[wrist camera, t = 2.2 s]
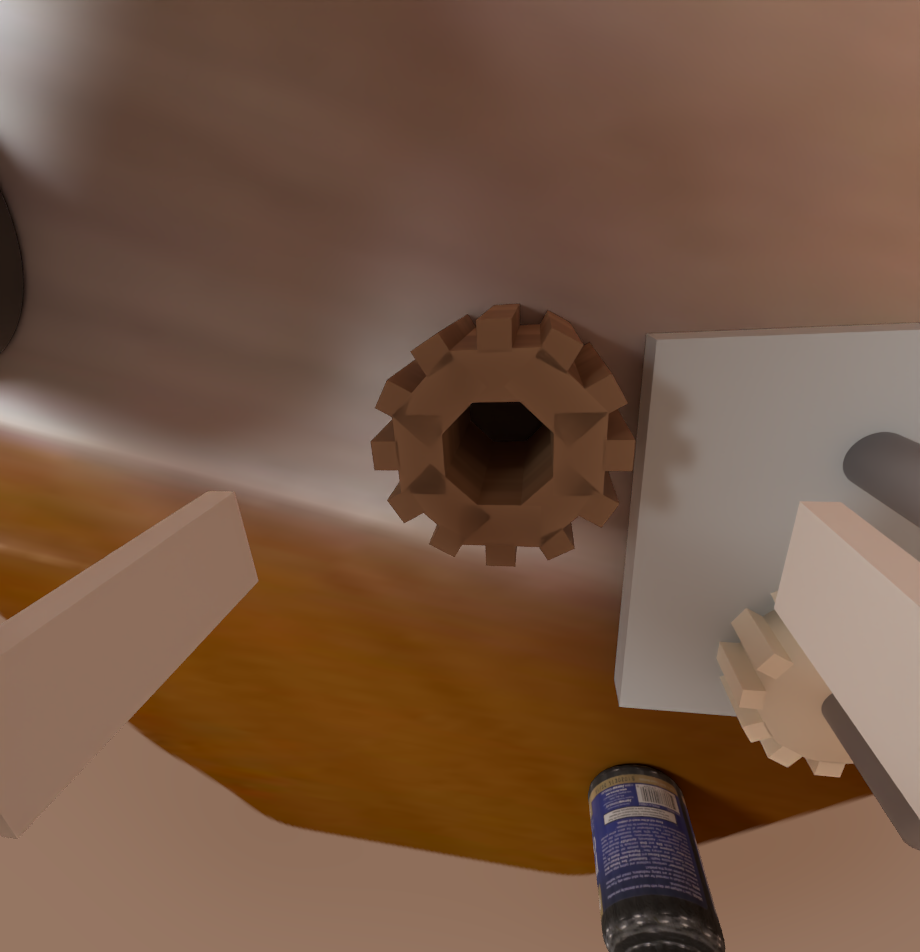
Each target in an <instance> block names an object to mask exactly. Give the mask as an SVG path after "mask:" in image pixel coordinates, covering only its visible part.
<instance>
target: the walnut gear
mask: <svg viewBox="0 0 920 952" xmlns="http://www.w3.org/2000/svg"><path fill="white" fill-rule="evenodd" d="M411 353H412V355H413V356H414V358H415V360H414V361H412V362H411V363H410V364H408V365H407V366H406V367H404V368H403V369H401V370H400V371H399V372H397V373H396V374H395V375H393V376H392V377H390V378H389V379H388V380H387V381H386V384H385V386H384V388H383V391H382V393H381V395H380V398H379V400H378V402H377V404H376V407H375V408H376V409H378V410H380V411H382V412H384V413H385V414H387V415H389V416H391V417H392V420H391V421H390V422H389V423H388V424H387V425H386V426H385V427H384V428H383V430H382V431H381V432H380V433H379V434H378V435H377V436H376V437H375V438H374V439H373V440H372V441H371V448H372V455H373V462H374V469H375V470H398V471H399V479H400V482H399V483H398V485H397V486H396V488H395V489H394V491H393V492H392V494H391V495H390V497H389V499H388V500H387V501H388V502H389V503H390V505H391V506H392V507H393V509H394V510H395V512H396V513H397V514H398V516H399V517H400V518H401V520H402V521H403V522H404V523H405V522H407V521H409V520H411V519H413V518H415V517H417V516H418V515H420V514H422V513H424V514H425V515H427V516H428V517H429V518H430V519H431V520H433V521H434V522H435V523H436V524H437V526H436V528H435V531H434V533H433V536H432V538H431V541H430V543H429V544H430V545H432V546H434V547H436V548H438V549H440V550H442V551H443V552H445V553H447V554H449V555H451V556H453V557H455V555H456V554H457V552H458V551H459V549H460V547H461V546H462V545H485V546H486V565H487V566H514V567H515V562H516V549H517V546H524V547H540V549H541V551H542V552H543V554H544V555H545V557H546V558H547V560H550V559H552V558H554V557H557V556H559V555H561V554H563V553H566V552H568V551H570V550H572V549H575V547H574V539H573V532H572V524H571V522H572V521H573V520H574V519H576V518H577V517H578V516H580V517H582V518H584V519H586V520H588V521H590V522H592V523H594V524H596V525H597V526H599V527H601V528H602V526H603V525H604V524H605V522H606V521H607V520H608V518H609V517H610V516H611V515H612V513H613V512H614V511H615V509H616V508H617V507H618V505H619V501H618V498H617V495H616V492H615V489H614V486H613V483H612V481H611V478H610V475H609V472H608V471H633V461H634V451H635V438H634V437H633V435H632V433H631V431H630V430H629V428H628V426H627V424H626V423H625V421H624V419H623V417H622V416H621V414H620V412H619V411H618V408H620V407H622V406H624V405H626V404H628V402H627V401H626V399H625V397H624V395H623V393H622V391H621V389H620V388H619V386H618V384H617V382H616V380H615V378H614V376H613V375H612V373H611V372H610V370H609V369H608V367H607V366H606V365H605V363H604V362H603V360H602V359H601V358H600V356H599V355H598V353H597V352H596V351H595V349H594V348H593V346H592V345H591V344H590V342H589V343H588V344H586V345H584V346H583V343H582V342H581V340H580V339H579V337H578V335H577V334H576V332H575V330H574V329H573V327H572V325H571V324H570V322H568V321H566V320H565V319H563V318H561V317H559V316H557V315H556V314H554V313H552V312H550V311H547V312H546V314H545V316H544V318H543V320H542V321H541V323H540V324H530V325H520V304H504V305H494V306H493V307H491V308H490V309H489V310H488V311H486V312H485V313H484V314H483V315H481V316H480V317H479V318H478V319H476V327H475V325H474V324H473V322H472V320H471V319H470V317H469V315H468V314H467V315H466V316H464V317H462V318H461V319H459V320H457V321H456V322H454V323H453V324H451V325H449V326H448V327H446V328H445V329H443V330H441V331H440V332H438V333H437V334H435V335H434V336H432V337H431V338H429V339H428V340H427V341H425V342H424V343H422V344H421V345H419V346H418V347H416V348H415V349H413V350H412V351H411ZM472 402H521V403H522V404H523V405H524V406H525V407H526V408H527V409H528V410H529V411H531V412H532V413H533V414H534V415H535V416H536V417H537V418H538V419H539V420H540V421H541V422H542V423H543V425H542V426H541V427H540V428H539V429H538V430H537V431H536V432H535V433H534V434H533V435H532V436H531V437H530V438H529V439H527V440H526V441H493V440H492V439H490V438H489V437H488V436H487V435H486V434H485V433H484V432H483V431H482V430H481V429H480V428H478V427H477V426H476V425H475V424H474V423H473V422H472V421H471V420H470V404H471V403H472Z"/></svg>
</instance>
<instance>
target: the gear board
mask: <svg viewBox="0 0 920 952" xmlns="http://www.w3.org/2000/svg"><path fill="white" fill-rule="evenodd" d="M800 501H812V502H841V503H843V504H844V505H845V506H847V507H848V508H849V509H851V510H852V511H853V512H855V513H856V514H857V515H859V516H860V517H861V518H862V519H864V520H865V521H866V522H868V523H869V524H870V525H872V526H873V527H874V528H876V529H877V530H878V531H880V532H881V533H882V534H883V535H885V536H886V537H887V538H889V539H890V540H891V541H893V542H894V543H895V544H897V545H898V546H899V547H901V548H902V549H903V550H904V551H906V552H907V553H908V554H910V555H911V556H912V557H914V558H915V559H916V560H918V561H919V562H920V323H896V324H871V325H847V326H822V327H798V328H773V329H749V330H724V331H700V332H675V333H650V334H646V343H645V353H644V364H643V375H642V385H641V396H640V407H639V418H638V428H637V439H636V450H635V460H634V471H633V482H632V493H631V503H630V514H629V525H628V535H627V546H626V557H625V568H624V578H623V589H622V600H621V610H620V621H619V632H618V643H617V653H616V664H615V675H614V681H615V686H616V692H617V697H618V702H619V707H628V708H640V709H653V710H665V711H677V712H689V713H702V714H714V715H726V716H737V717H738V720H739V722H740V724H741V726H742V728H743V730H744V732H745V733H746V735H747V737H748V739H749V740H750V742H751V743H752V742H755V741H759V740H760V742H761V744H762V746H763V748H764V750H765V752H766V755H767V757H768V758H770V759H772V760H774V761H776V762H778V763H780V764H782V765H783V766H785V767H789V766H790V765H792V764H793V763H794V762H796V761H797V760H799V759H800V758H801V757H805V759H806V761H807V763H808V764H809V766H810V768H811V770H812V772H813V773H814V775H820V776H831V777H840V776H841V774H842V771H843V769H844V766H845V764H855V766H856V768H857V769H858V771H859V772H860V774H861V775H862V777H863V778H864V780H865V782H866V783H867V785H868V786H869V788H870V789H871V791H872V793H873V794H874V796H875V797H876V799H877V800H878V802H879V803H880V805H881V807H882V808H883V810H884V811H885V813H886V814H887V816H888V817H889V819H890V820H891V822H892V824H893V825H894V826H895V828H896V830H897V832H898V833H899V835H900V836H901V838H902V839H903V841H904V842H905V843H906V844H908V845H909V846H911V847H912V848H915V849H917V850H920V819H919V818H918V816H917V815H916V813H915V812H914V810H913V809H912V807H911V806H910V805H909V803H908V802H907V800H906V799H905V797H904V796H903V794H902V793H901V792H900V790H899V789H898V787H897V786H896V784H895V783H894V781H893V780H892V779H891V777H890V776H889V774H888V773H887V771H886V770H885V768H884V767H883V765H882V764H881V763H880V761H879V760H878V758H877V757H876V755H875V754H874V752H873V751H872V750H871V748H870V747H869V745H868V744H867V742H866V741H865V739H864V738H863V737H862V735H861V734H860V732H859V731H858V729H857V728H856V726H855V725H854V724H853V722H852V721H851V719H850V718H849V716H848V715H847V713H846V712H845V711H844V709H843V708H842V706H841V705H840V703H839V702H838V700H837V699H836V698H835V696H834V695H833V693H832V692H831V690H830V689H829V687H828V686H827V685H826V683H825V682H824V680H823V679H822V677H821V676H820V674H819V673H818V672H817V670H816V669H815V667H814V666H813V664H812V663H811V661H810V660H809V659H808V657H807V656H806V654H805V653H804V651H803V650H802V648H801V647H800V646H799V644H798V643H797V641H796V640H795V638H794V637H793V635H792V634H791V633H790V631H789V630H788V628H787V627H786V625H785V624H784V622H783V621H782V619H781V618H780V617H779V615H778V614H777V612H776V611H775V609H774V605H775V601H776V597H777V593H778V589H779V585H780V581H781V576H782V572H783V568H784V564H785V560H786V556H787V552H788V548H789V544H790V540H791V535H792V531H793V527H794V523H795V519H796V515H797V511H798V507H799V503H800Z"/></svg>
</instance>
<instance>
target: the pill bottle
mask: <svg viewBox="0 0 920 952" xmlns="http://www.w3.org/2000/svg"><path fill="white" fill-rule="evenodd" d="M588 801H589V808H590V818H591V827H592V836H593V847H594V856H595V865H596V875H597V885H598V893H599V903H600V912H601V922H602V932H603V938H604V942H605V944H606V946H607V949H608V951H609V952H725V943H724V938H723V934H722V930H721V927H720V923H719V920H718V917H717V913H716V909H715V906H714V902H713V899H712V895H711V892H710V888H709V885H708V882H707V878H706V874H705V870H704V867H703V863H702V860H701V856H700V853H699V849H698V846H697V842H696V839H695V835H694V831H693V828H692V825H691V821H690V818H689V814H688V810H687V807H686V803H685V800H684V796H683V794H682V791H681V790H680V788H679V787H678V786H677V784H676V783H675V782H674V781H673V780H672V779H671V778H670V777H668V776H667V775H665V774H664V773H662V772H660V771H658V770H655V769H653V768H649V767H646V766H639V765H621V766H615V767H612V768H610V769H607V770H604V771H603V772H601V773H600V774H599V775H598V776H597V777H595V779H594V780H593V781H592V782H591V785H590V789H589V793H588Z"/></svg>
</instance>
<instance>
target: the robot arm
mask: <svg viewBox="0 0 920 952" xmlns="http://www.w3.org/2000/svg"><path fill="white" fill-rule="evenodd" d="M22 300H23V270H22V262H21V255H20V250H19V245H18V241H17V237H16V233H15V229H14V226H13V223H12V219H11V217H10V214H9V211H8V208H7V206H6V203H5V201H4V198H3V196H2V193H1V191H0V353H1V352H2V351H3V350H4V348H5V347H6V346H7V344H8V343H9V341H10V340H11V338H12V336H13V334H14V332H15V329H16V327H17V324H18V321H19V317H20V313H21V307H22ZM257 582H258V578H257V574H256V570H255V567H254V563H253V559H252V555H251V552H250V548H249V544H248V540H247V536H246V533H245V529H244V525H243V521H242V518H241V514H240V510H239V506H238V502H237V499H236V495H235V492H232V491H207V492H206V493H204V494H203V495H201V496H200V497H198V498H196V499H195V500H193V501H192V502H190V503H189V504H187V505H186V506H184V507H183V508H181V509H179V510H178V511H176V512H175V513H173V514H172V515H170V516H169V517H167V518H165V519H164V520H162V521H161V522H159V523H158V524H156V525H155V526H153V527H151V528H150V529H148V530H147V531H145V532H144V533H142V534H141V535H139V536H137V537H136V538H134V539H133V540H131V541H130V542H128V543H127V544H125V545H123V546H122V547H120V548H119V549H117V550H116V551H114V552H113V553H111V554H109V555H108V556H106V557H105V558H103V559H102V560H100V561H99V562H97V563H95V564H94V565H92V566H91V567H89V568H88V569H86V570H85V571H83V572H81V573H80V574H78V575H77V576H75V577H74V578H72V579H71V580H69V581H67V582H66V583H64V584H63V585H61V586H60V587H58V588H57V589H55V590H53V591H52V592H50V593H49V594H47V595H46V596H44V597H43V598H41V599H39V600H38V601H36V602H35V603H33V604H32V605H30V606H29V607H27V608H25V609H24V610H22V611H21V612H19V613H18V614H16V615H15V616H13V617H11V618H10V619H8V620H7V621H5V622H4V623H2V624H1V625H0V836H2V837H8V838H14V839H18V838H19V837H20V836H21V835H22V834H23V833H24V832H25V831H26V830H27V829H28V828H29V826H30V825H31V824H32V823H33V822H34V821H35V820H36V819H37V818H38V817H39V816H40V815H41V813H42V812H43V811H44V810H45V809H46V808H47V807H48V806H49V805H50V804H51V803H52V802H53V801H54V800H55V799H56V797H57V796H58V795H59V794H60V793H61V792H62V791H63V790H64V789H65V788H66V787H67V786H68V785H69V784H70V783H71V781H72V780H73V779H74V778H75V777H76V776H77V775H78V774H79V773H80V772H81V771H82V770H83V769H84V767H85V766H86V765H87V764H88V763H89V762H90V761H91V760H92V759H93V758H94V757H95V755H97V754H98V752H99V751H100V750H101V749H102V748H103V747H104V746H105V745H106V744H107V743H108V742H109V741H110V740H111V738H112V737H113V736H114V735H115V734H116V733H117V732H118V731H119V730H120V729H121V728H122V727H123V726H124V725H125V724H126V722H127V721H128V720H129V719H130V718H131V717H132V716H133V715H134V714H135V713H136V712H137V711H138V710H139V709H140V707H141V706H142V705H143V704H144V703H145V702H146V701H147V700H148V699H149V698H150V697H151V696H152V695H153V694H154V692H155V691H156V690H157V689H158V688H159V687H160V686H161V685H162V684H163V683H164V682H165V681H166V680H167V679H168V677H169V676H170V675H171V674H172V673H173V672H174V671H175V670H176V669H177V668H178V667H179V666H180V665H181V663H182V662H183V661H184V660H185V659H186V658H187V657H188V656H189V655H190V654H191V653H192V652H193V651H194V650H195V648H196V647H197V646H198V645H199V644H200V643H201V642H202V641H203V640H204V639H205V638H206V637H207V636H208V635H209V633H210V632H211V631H212V630H213V629H214V628H215V627H216V626H217V625H218V624H219V623H220V622H221V621H222V620H223V618H224V617H225V616H226V615H227V614H228V613H229V612H230V611H231V610H232V609H233V608H234V607H235V606H236V605H237V603H238V602H239V601H240V600H241V599H242V598H243V597H244V596H245V595H246V594H247V593H248V592H249V591H250V590H251V588H252V587H253V586H254V585H255V584H256V583H257ZM774 609H775V611H776V612H777V614H778V615H779V617H780V618H781V619H782V621H783V622H784V624H785V625H786V627H787V628H788V630H789V631H790V633H791V634H792V635H793V637H794V638H795V640H796V641H797V643H798V644H799V646H800V647H801V648H802V650H803V651H804V653H805V654H806V656H807V657H808V659H809V660H810V661H811V663H812V664H813V666H814V667H815V669H816V670H817V672H818V673H819V674H820V676H821V677H822V679H823V680H824V682H825V683H826V685H827V686H828V687H829V689H830V690H831V692H832V693H833V695H834V696H835V698H836V699H837V700H838V702H839V703H840V705H841V706H842V708H843V709H844V711H845V712H846V713H847V715H848V716H849V718H850V719H851V721H852V722H853V724H854V725H855V726H856V728H857V729H858V731H859V732H860V734H861V735H862V737H863V738H864V739H865V741H866V742H867V744H868V745H869V747H870V748H871V750H872V751H873V752H874V754H875V755H876V757H877V758H878V760H879V761H880V763H881V764H882V765H883V767H884V768H885V770H886V771H887V773H888V774H889V776H890V777H891V779H892V780H893V781H894V783H895V784H896V786H897V787H898V789H899V790H900V792H901V793H902V794H903V796H904V797H905V799H906V800H907V802H908V803H909V805H910V806H911V807H912V809H913V810H914V812H915V813H916V815H917V816H918V818H919V819H920V562H919V561H918V560H916V559H915V558H914V557H912V556H911V555H910V554H908V553H907V552H906V551H904V550H903V549H902V548H901V547H899V546H898V545H897V544H895V543H894V542H893V541H891V540H890V539H889V538H887V537H886V536H885V535H883V534H882V533H881V532H880V531H878V530H877V529H876V528H874V527H873V526H872V525H870V524H869V523H868V522H866V521H865V520H864V519H862V518H861V517H860V516H859V515H857V514H856V513H855V512H853V511H852V510H851V509H849V508H848V507H847V506H845V505H844V504H843V503H841V502H812V501H800V503H799V507H798V511H797V515H796V519H795V523H794V527H793V531H792V535H791V540H790V544H789V548H788V552H787V556H786V560H785V564H784V568H783V572H782V576H781V581H780V585H779V589H778V593H777V597H776V601H775V605H774Z"/></svg>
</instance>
